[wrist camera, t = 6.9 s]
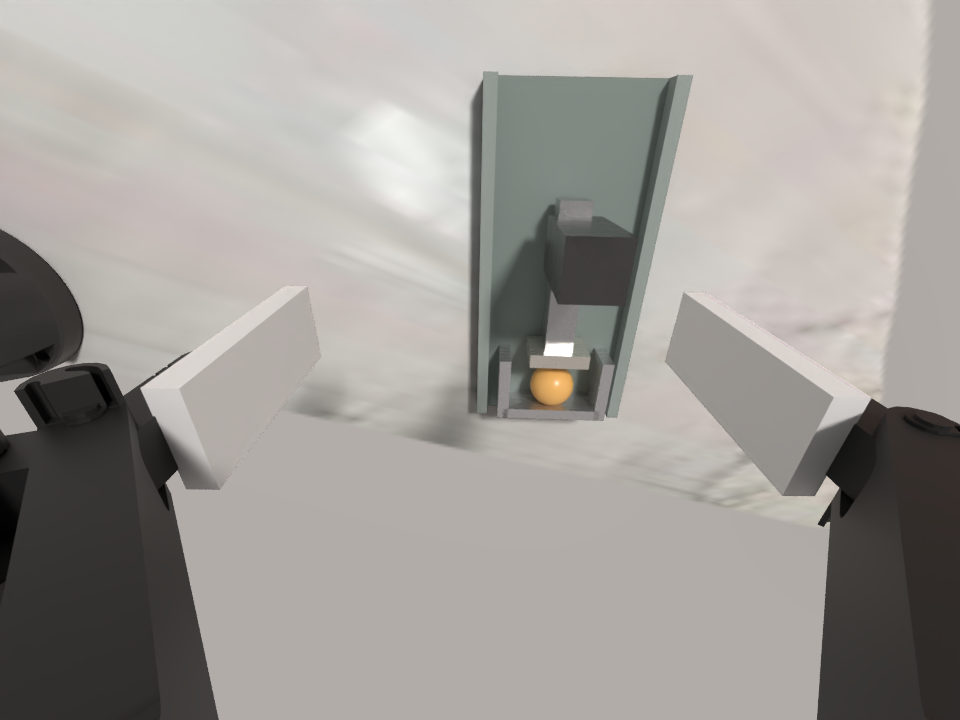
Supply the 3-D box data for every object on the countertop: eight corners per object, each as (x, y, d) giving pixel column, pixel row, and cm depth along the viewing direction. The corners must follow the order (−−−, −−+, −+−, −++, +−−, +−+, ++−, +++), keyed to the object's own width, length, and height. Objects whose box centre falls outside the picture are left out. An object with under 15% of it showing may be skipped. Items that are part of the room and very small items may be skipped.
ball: (534, 374, 34) (530, 355, 38) (530, 413, 36) (527, 390, 40) (579, 376, 34) (571, 356, 38) (574, 414, 36) (566, 392, 40)
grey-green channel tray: (477, 401, 41) (476, 413, 40) (483, 76, 28) (483, 71, 27) (611, 406, 41) (616, 417, 39) (680, 80, 28) (693, 75, 26)
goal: (496, 394, 41) (497, 417, 37) (499, 341, 38) (500, 361, 35) (593, 397, 41) (603, 420, 37) (603, 345, 38) (614, 365, 34)
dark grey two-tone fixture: (526, 347, 37) (537, 415, 28) (538, 196, 31) (558, 216, 21) (579, 348, 37) (609, 418, 27) (602, 197, 31) (651, 218, 21)
